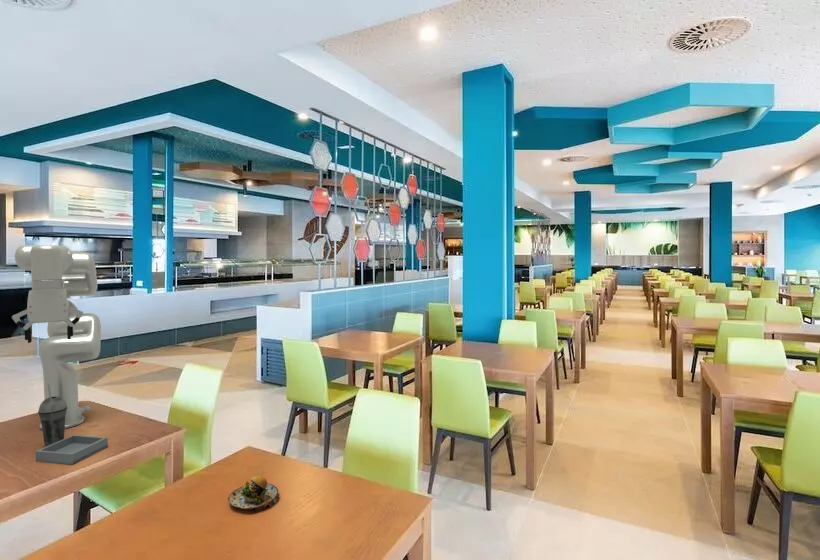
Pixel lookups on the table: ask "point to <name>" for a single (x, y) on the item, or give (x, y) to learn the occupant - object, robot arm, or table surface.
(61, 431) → the beverage cup
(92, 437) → the tray
